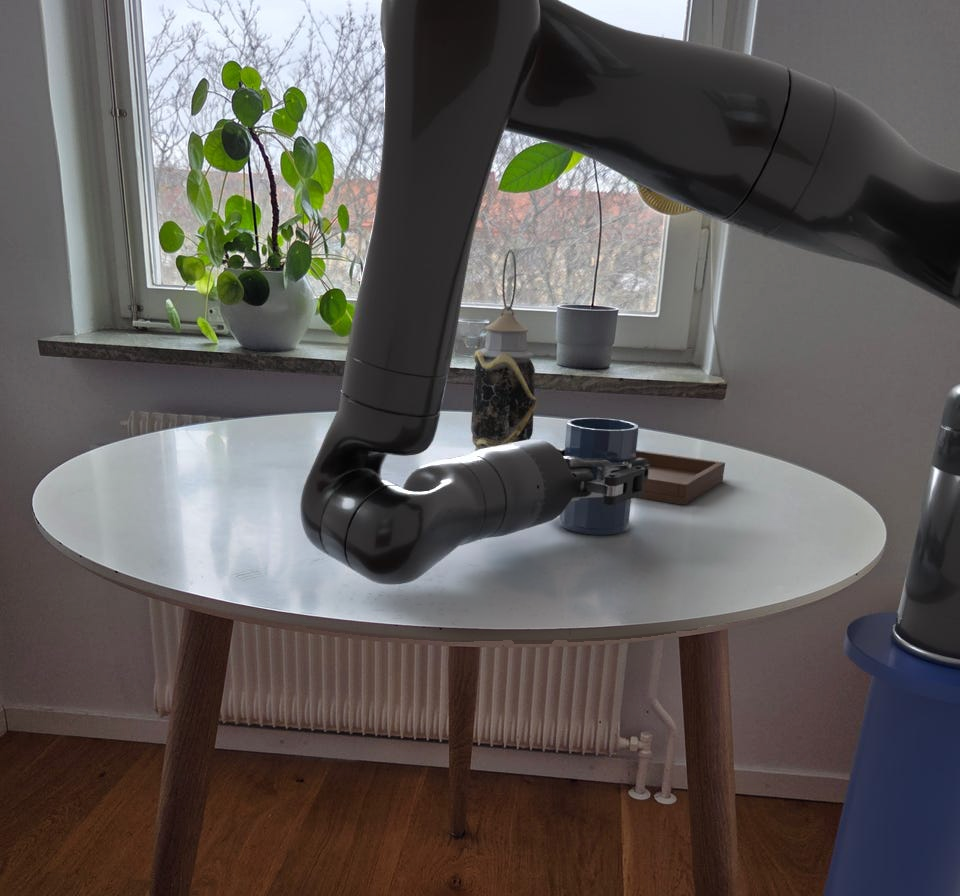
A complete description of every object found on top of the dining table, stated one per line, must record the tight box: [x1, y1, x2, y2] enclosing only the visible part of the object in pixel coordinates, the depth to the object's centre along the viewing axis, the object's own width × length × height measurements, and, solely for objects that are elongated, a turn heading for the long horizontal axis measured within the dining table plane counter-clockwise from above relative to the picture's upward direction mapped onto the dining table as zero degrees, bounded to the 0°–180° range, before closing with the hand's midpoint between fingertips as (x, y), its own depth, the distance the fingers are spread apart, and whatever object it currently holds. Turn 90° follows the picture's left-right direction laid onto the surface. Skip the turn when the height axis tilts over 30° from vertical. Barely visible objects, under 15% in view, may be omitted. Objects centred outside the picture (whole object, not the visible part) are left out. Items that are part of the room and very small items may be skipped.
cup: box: [559, 417, 640, 536], centre depth 91 cm, size 7×7×10 cm
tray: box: [635, 449, 726, 506], centre depth 111 cm, size 18×15×2 cm
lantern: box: [470, 249, 537, 451], centre depth 115 cm, size 9×8×25 cm
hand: (610, 462), depth 92 cm, fingers closed on cup, 7 cm apart
